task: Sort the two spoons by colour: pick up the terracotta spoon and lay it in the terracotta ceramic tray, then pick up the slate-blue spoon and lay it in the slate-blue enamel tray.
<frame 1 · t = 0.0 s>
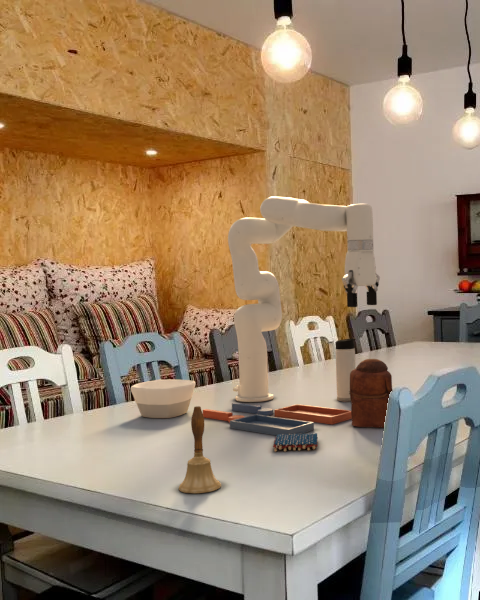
hand: (362, 306, 210), 31 cm above the table, tool pointing down, fingers open, 9 cm apart
hand bell: (200, 488, 142), on the table
wooden figurine: (372, 426, 193), on the table
terracotta spoon: (217, 418, 210), on the table
slate tray: (271, 429, 193), on the table
slate spoon: (246, 411, 219), on the table
terracotta tray: (313, 417, 207), on the table
woven mat: (295, 446, 173), on the table
bowl: (164, 415, 219), on the table
travel mug: (347, 400, 233), on the table
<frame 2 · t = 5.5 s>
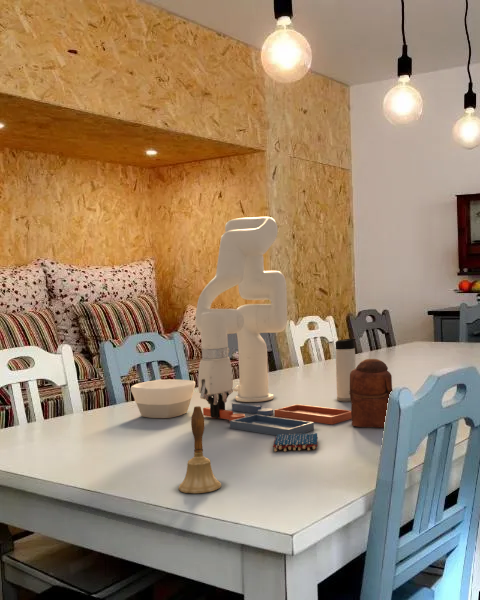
hand: (218, 416, 210), 1 cm above the table, tool pointing down, fingers closed on terracotta spoon, 1 cm apart
terracotta spoon: (218, 417, 210), on the table, touching gripper
everything else where it was.
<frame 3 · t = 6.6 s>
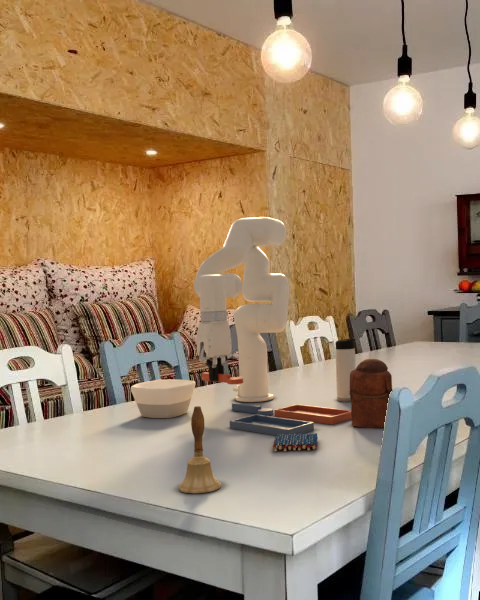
hand: (216, 380, 210), 11 cm above the table, tool pointing down, fingers closed on terracotta spoon
terracotta spoon: (216, 381, 210), point 11 cm above the table, touching gripper
everything else where it was.
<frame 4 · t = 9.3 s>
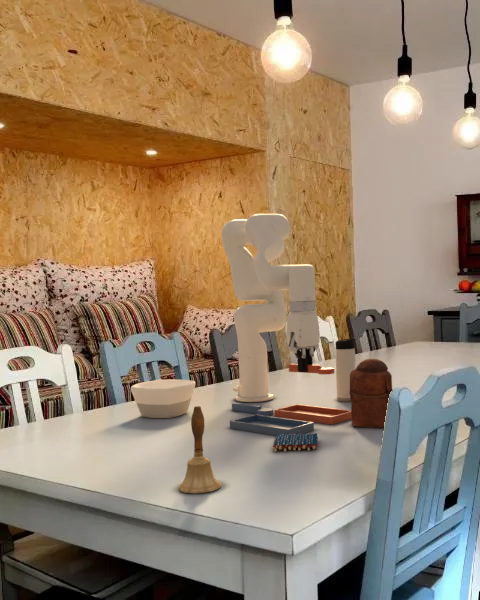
hand: (305, 371, 208), 13 cm above the table, tool pointing down, fingers closed on terracotta spoon, 1 cm apart
terracotta spoon: (305, 372, 208), point 13 cm above the table, touching gripper
everything else where it was.
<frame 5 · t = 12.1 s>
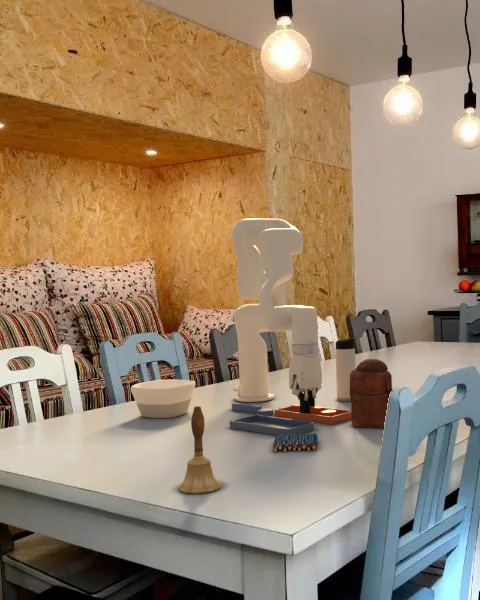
hand: (307, 412, 208), 1 cm above the table, tool pointing down, fingers closed on terracotta spoon, 1 cm apart
terracotta spoon: (307, 413, 209), point 1 cm above the table, touching gripper
everything else where it was.
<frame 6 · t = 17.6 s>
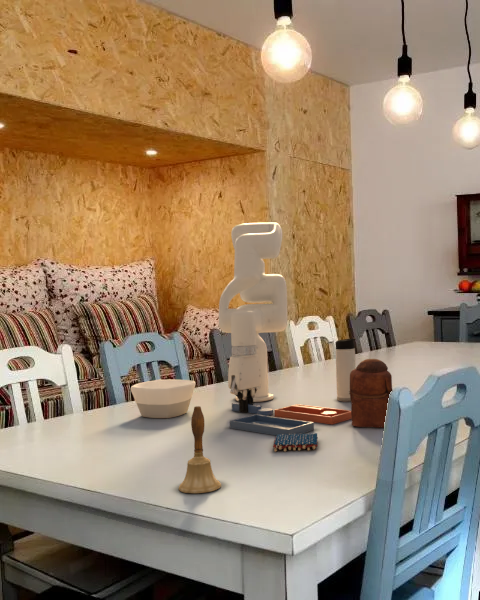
hand: (246, 411, 219), 0 cm above the table, tool pointing down, fingers closed on slate spoon, 1 cm apart
terracotta spoon: (307, 414, 209), resting on terracotta tray
slate spoon: (246, 411, 219), on the table, touching gripper
everything else where it was.
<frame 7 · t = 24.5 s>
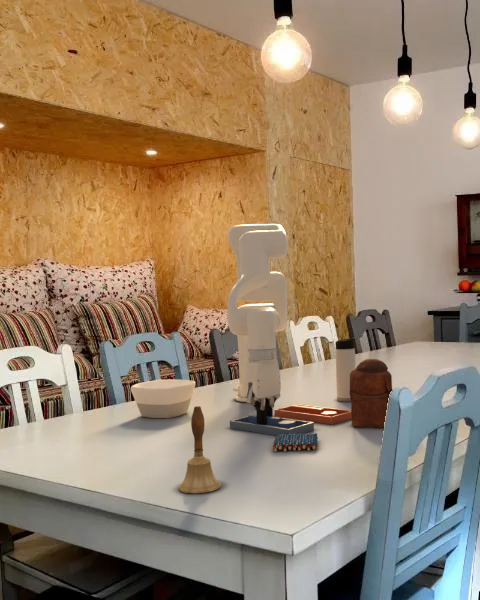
hand: (264, 422, 195), 1 cm above the table, tool pointing down, fingers closed on slate spoon, 1 cm apart
slate spoon: (265, 424, 195), point 1 cm above the table, touching gripper
everything else where it was.
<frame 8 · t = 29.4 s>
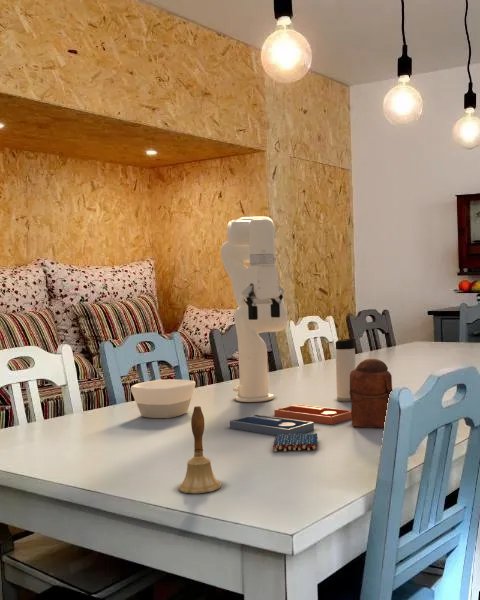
hand: (264, 318, 215), 28 cm above the table, tool pointing down, fingers open, 9 cm apart
slate spoon: (265, 426, 195), resting on slate tray
everything else where it was.
at the end: terracotta spoon inside the target area in the terracotta tray (0.8 cm from its centre), point 0.5 cm above the terracotta tray's base; slate spoon inside the target area in the slate tray (0.7 cm from its centre), point 0.5 cm above the slate tray's base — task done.
